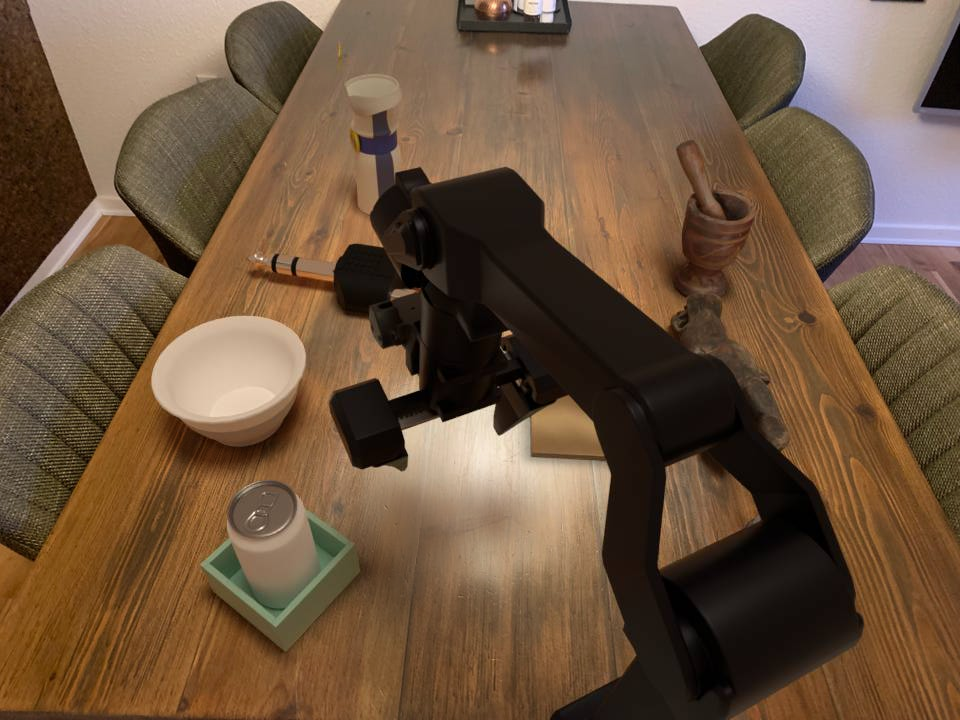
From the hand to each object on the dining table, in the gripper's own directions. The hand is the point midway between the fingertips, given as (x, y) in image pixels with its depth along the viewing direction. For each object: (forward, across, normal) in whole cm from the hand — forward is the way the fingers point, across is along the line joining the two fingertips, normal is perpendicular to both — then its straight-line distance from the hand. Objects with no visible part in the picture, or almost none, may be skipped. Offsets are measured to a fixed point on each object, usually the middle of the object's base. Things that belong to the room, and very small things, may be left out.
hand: (450, 448), depth 62 cm
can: (+14, +16, 0) cm, 21 cm away
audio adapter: (+19, -1, -40) cm, 44 cm away
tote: (+14, +16, 0) cm, 21 cm away
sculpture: (+14, -37, -2) cm, 40 cm away
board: (+15, -21, -6) cm, 26 cm away
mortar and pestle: (+17, -47, -21) cm, 54 cm away
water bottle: (+21, -15, -57) cm, 62 cm away
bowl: (+17, +15, -22) cm, 31 cm away
